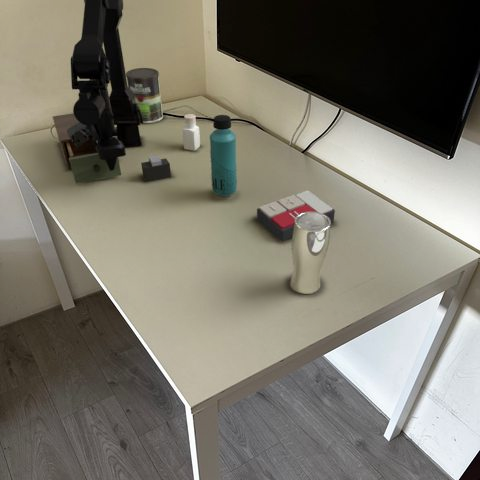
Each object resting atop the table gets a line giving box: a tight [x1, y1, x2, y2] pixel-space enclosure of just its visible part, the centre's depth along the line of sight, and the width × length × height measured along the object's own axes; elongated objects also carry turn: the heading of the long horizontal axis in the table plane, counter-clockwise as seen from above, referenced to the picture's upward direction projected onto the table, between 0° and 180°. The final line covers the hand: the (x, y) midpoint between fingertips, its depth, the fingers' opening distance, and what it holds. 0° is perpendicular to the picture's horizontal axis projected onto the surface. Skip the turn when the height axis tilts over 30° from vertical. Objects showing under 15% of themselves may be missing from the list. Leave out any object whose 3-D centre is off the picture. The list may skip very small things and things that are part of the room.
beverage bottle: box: [209, 114, 237, 197], centre depth 115 cm, size 6×7×20 cm
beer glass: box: [289, 212, 332, 295], centre depth 91 cm, size 7×7×15 cm
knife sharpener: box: [140, 154, 172, 183], centre depth 128 cm, size 7×3×5 cm, turn 113°
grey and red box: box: [256, 190, 336, 242], centre depth 112 cm, size 11×4×15 cm
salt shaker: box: [181, 113, 201, 152], centre depth 139 cm, size 4×4×10 cm
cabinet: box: [52, 113, 93, 170], centre depth 138 cm, size 18×13×8 cm
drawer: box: [65, 138, 122, 185], centre depth 130 cm, size 19×12×7 cm, turn 23°
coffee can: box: [125, 67, 164, 124], centre depth 155 cm, size 10×10×14 cm
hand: (111, 169), depth 124 cm, fingers closed
